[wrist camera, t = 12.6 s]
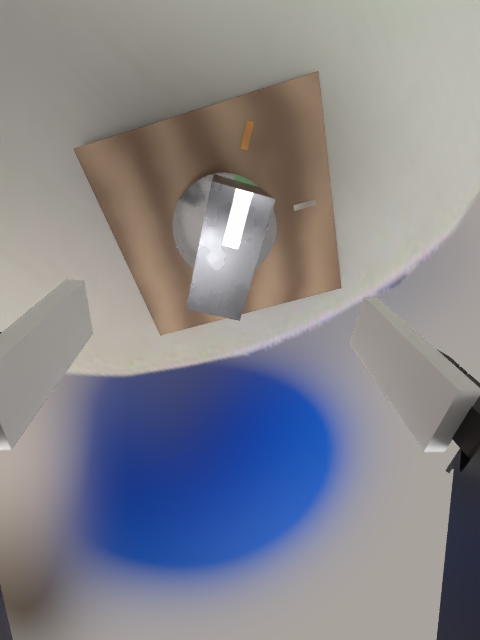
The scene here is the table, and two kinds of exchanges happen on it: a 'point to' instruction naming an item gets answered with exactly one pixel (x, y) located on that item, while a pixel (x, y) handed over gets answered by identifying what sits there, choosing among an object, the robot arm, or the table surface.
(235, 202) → the dial
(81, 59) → the table surface
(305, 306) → the table surface
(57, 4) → the table surface
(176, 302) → the dial panel
